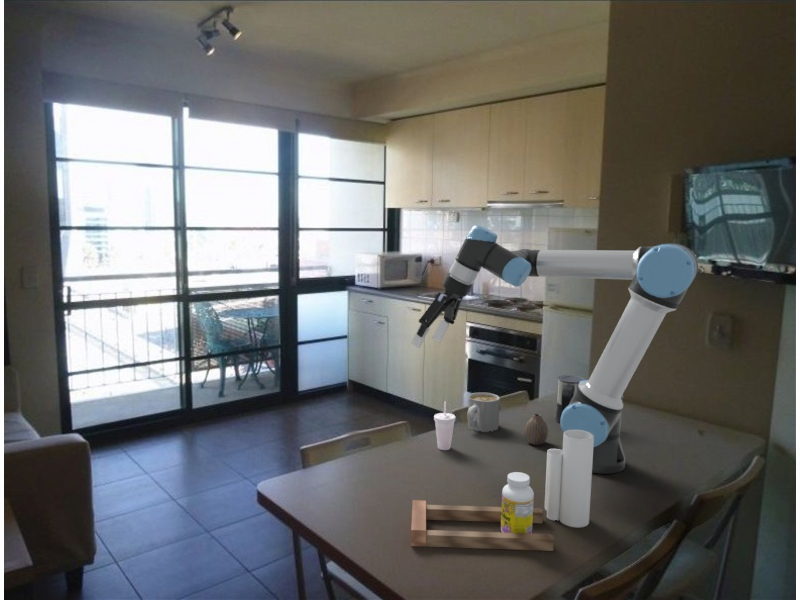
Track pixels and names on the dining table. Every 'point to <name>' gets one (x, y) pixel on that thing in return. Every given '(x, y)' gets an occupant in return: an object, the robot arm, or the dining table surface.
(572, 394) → the milk frother
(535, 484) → the dining table surface
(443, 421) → the smoothie
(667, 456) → the dining table surface
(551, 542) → the channel
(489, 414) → the coffee mug
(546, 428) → the vase
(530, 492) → the supplement bottle
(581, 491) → the white joined tall cylinders
